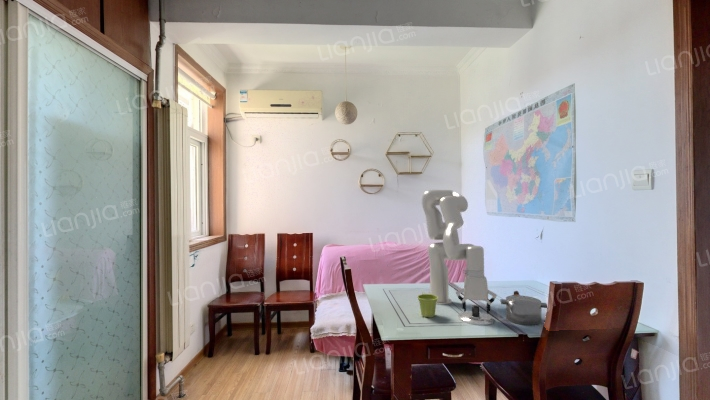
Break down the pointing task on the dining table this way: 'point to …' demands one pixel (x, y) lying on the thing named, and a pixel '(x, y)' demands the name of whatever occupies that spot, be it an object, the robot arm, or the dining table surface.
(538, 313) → the pot
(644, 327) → the dining table surface
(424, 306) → the plant pot
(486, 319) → the lid
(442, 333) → the dining table surface
